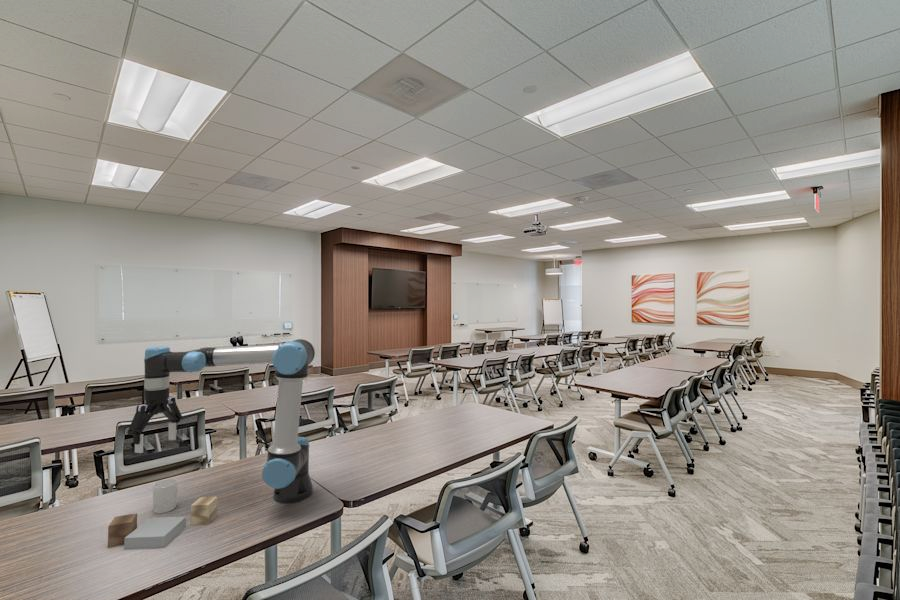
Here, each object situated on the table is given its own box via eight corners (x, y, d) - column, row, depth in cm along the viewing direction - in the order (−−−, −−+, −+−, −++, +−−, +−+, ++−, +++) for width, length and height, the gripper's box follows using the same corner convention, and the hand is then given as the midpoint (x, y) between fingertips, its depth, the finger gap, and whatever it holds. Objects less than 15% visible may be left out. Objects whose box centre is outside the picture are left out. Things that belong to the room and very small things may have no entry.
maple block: (216, 515, 145) (217, 496, 146) (208, 524, 139) (208, 504, 140) (200, 516, 145) (200, 497, 145) (190, 525, 139) (191, 505, 139)
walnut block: (136, 533, 134) (137, 513, 134) (131, 543, 128) (131, 521, 128) (114, 537, 131) (115, 516, 131) (107, 547, 126) (108, 525, 126)
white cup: (164, 515, 145) (164, 488, 145) (146, 513, 147) (147, 486, 147) (182, 505, 153) (183, 479, 153) (165, 503, 154) (166, 477, 154)
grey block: (185, 527, 138) (186, 516, 138) (163, 548, 126) (164, 536, 126) (150, 529, 137) (150, 517, 137) (124, 550, 125) (124, 537, 125)
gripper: (176, 381, 158) (176, 434, 158) (114, 395, 134) (113, 457, 133) (193, 382, 157) (192, 435, 157) (133, 396, 133) (132, 459, 132)
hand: (156, 445), depth 145 cm, fingers open, 13 cm apart
